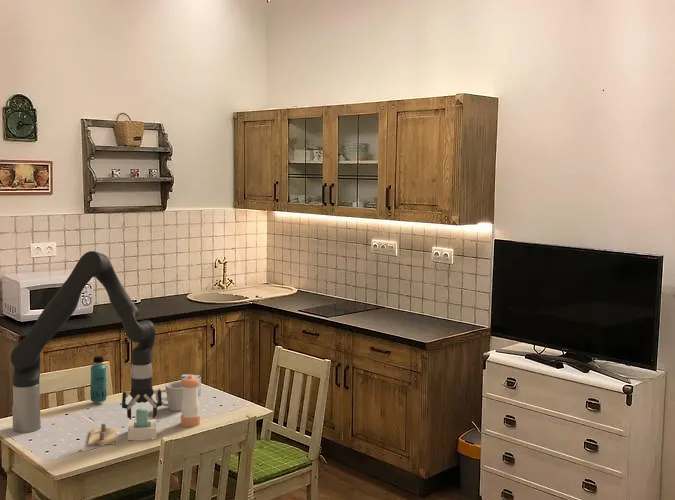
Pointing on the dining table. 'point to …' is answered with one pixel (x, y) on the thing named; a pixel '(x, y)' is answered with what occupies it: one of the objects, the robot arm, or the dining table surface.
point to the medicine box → (196, 377)
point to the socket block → (142, 430)
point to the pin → (141, 418)
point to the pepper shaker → (190, 402)
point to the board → (106, 436)
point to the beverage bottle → (98, 380)
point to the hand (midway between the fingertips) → (142, 417)
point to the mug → (173, 395)
